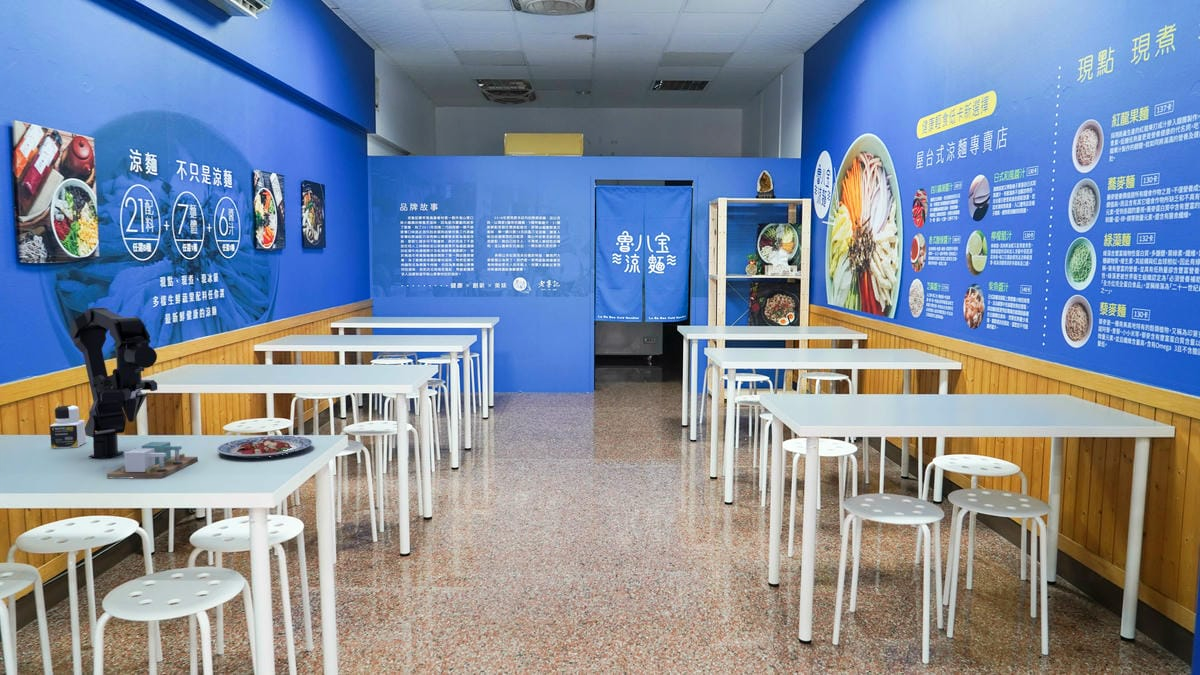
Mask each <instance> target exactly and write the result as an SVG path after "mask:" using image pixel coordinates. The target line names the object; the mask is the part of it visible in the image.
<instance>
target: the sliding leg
mask: <svg viewBox="0 0 1200 675" xmlns="http://www.w3.org/2000/svg"><path fill="white" fill-rule="evenodd" d="M141 448H155V453H166V456H165V457H163V458H164V461H166V460H168V459H170V458H171V457H172V453H171V452H172V451H174V457H175V461H179V454H180V451H181V450H182V449H183V448H182V446H181V445H179V446H178V445H171V441H151V442H148V443H145V444H143V445H141ZM157 464H159V457H155V465H157Z"/></svg>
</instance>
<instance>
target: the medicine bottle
mask: <svg viewBox="0 0 1200 675" xmlns="http://www.w3.org/2000/svg"><path fill="white" fill-rule="evenodd" d="M54 417H55V419H54V420H55V422H54V423H52V424H50V426H49V430H50V431H49V433H50V448H51V449H55V448H56V449H71V448H70V447H77V448H80V445H81V446H83V445H84V444H86V443H87V438H86V433H85V426H86V423H85V422H86V421H85V419H80V409H79V407H78V406H77V405H72V404H71V405H61V406H57V407H56V408H54Z"/></svg>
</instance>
